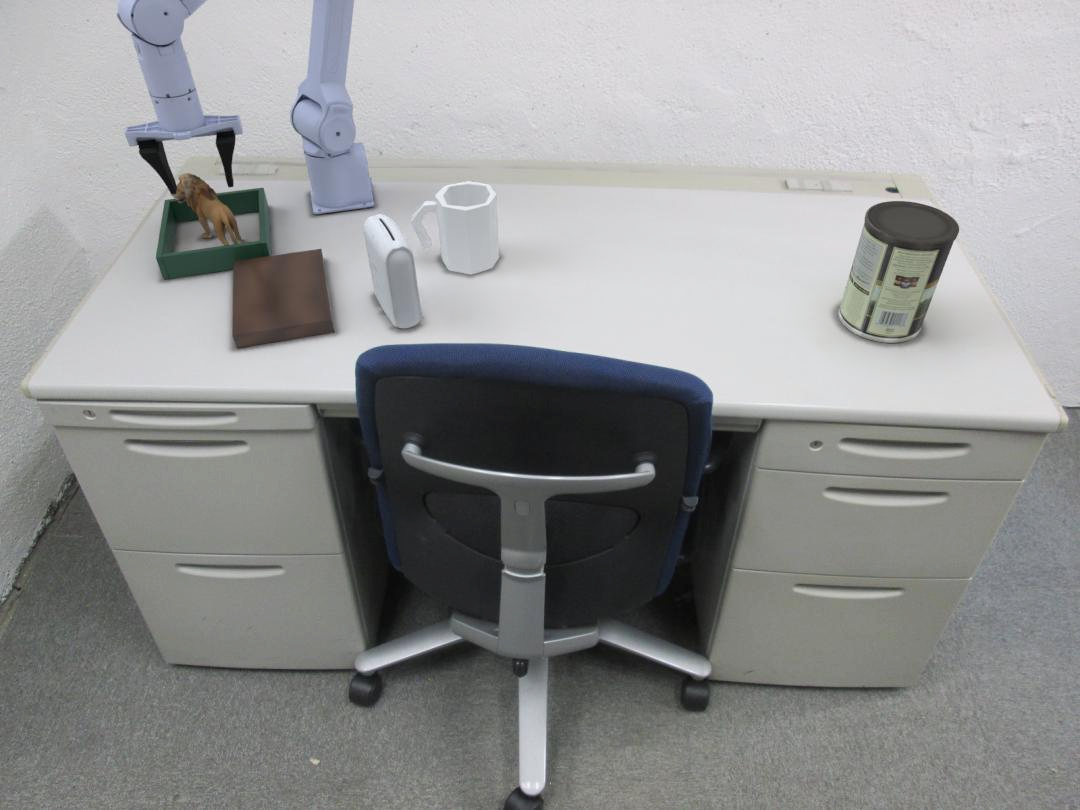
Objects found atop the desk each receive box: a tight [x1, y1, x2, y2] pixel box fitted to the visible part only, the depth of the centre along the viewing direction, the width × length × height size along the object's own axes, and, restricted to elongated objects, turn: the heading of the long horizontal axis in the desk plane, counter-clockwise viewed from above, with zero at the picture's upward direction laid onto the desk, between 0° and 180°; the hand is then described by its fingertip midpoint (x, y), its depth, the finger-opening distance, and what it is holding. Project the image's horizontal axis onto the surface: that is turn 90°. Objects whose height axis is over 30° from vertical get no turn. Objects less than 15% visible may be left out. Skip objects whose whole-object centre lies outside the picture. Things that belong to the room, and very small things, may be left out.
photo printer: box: [363, 213, 423, 329], centre depth 100 cm, size 10×4×12 cm, turn 26°
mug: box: [410, 180, 500, 276], centre depth 110 cm, size 12×9×10 cm
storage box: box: [155, 187, 272, 280], centre depth 116 cm, size 15×18×4 cm
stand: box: [231, 248, 335, 349], centre depth 104 cm, size 12×18×2 cm, turn 16°
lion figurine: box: [170, 172, 246, 246], centre depth 114 cm, size 15×5×9 cm, turn 50°
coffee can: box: [837, 200, 960, 344], centre depth 96 cm, size 10×10×14 cm
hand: (202, 187), depth 111 cm, fingers open, 7 cm apart
